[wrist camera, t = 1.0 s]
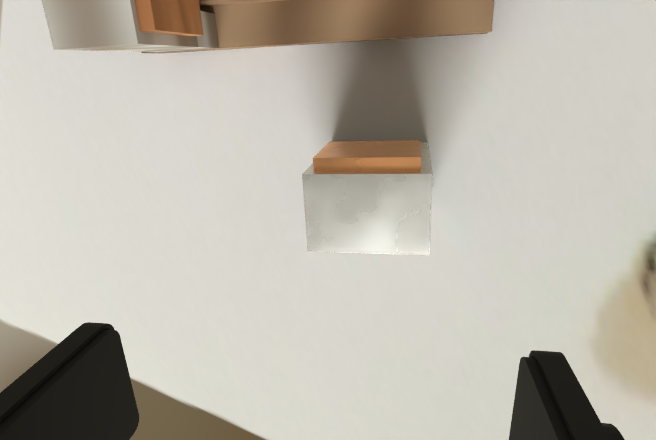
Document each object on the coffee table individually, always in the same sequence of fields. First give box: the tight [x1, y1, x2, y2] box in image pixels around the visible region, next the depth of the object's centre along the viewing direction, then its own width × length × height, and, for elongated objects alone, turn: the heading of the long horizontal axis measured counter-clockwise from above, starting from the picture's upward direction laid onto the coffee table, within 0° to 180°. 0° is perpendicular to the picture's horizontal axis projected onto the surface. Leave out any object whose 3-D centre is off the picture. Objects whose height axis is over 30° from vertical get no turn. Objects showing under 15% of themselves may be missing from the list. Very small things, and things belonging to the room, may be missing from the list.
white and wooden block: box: [302, 140, 432, 255], centre depth 24 cm, size 5×6×8 cm
